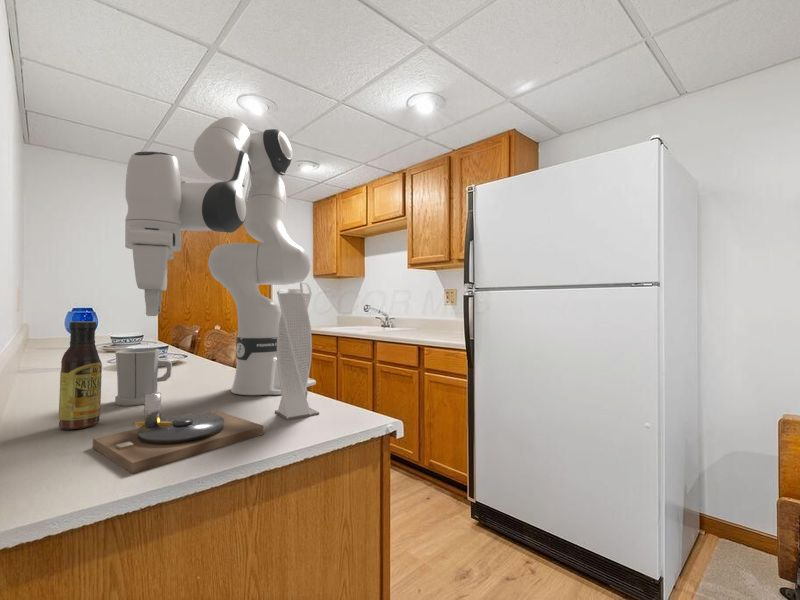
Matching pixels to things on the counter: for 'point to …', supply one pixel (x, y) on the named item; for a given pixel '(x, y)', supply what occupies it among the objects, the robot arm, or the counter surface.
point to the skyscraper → (294, 353)
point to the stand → (171, 444)
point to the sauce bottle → (80, 379)
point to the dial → (174, 424)
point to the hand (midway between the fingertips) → (153, 315)
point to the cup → (138, 374)
